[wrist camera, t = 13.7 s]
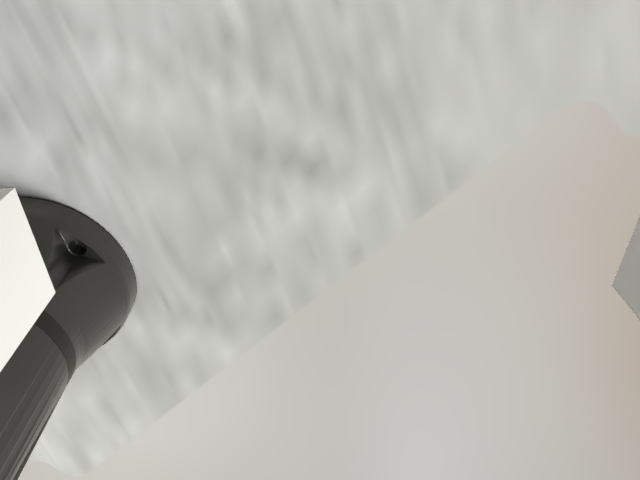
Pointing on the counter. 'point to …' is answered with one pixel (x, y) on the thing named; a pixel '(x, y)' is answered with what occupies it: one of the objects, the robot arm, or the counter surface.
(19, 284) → the robot arm
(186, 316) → the counter surface
